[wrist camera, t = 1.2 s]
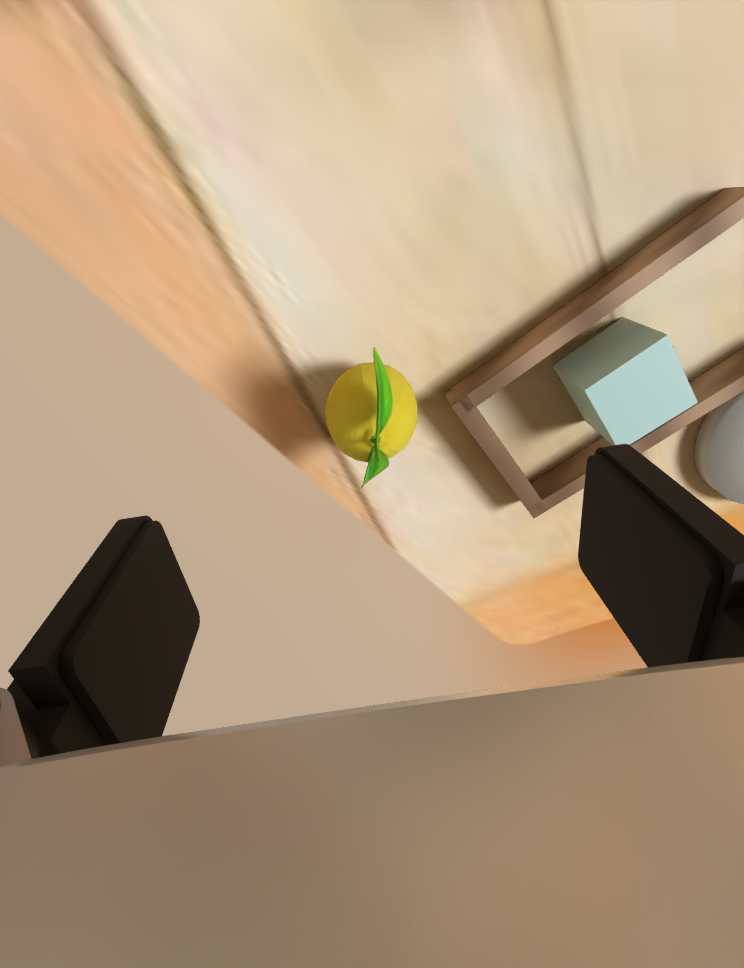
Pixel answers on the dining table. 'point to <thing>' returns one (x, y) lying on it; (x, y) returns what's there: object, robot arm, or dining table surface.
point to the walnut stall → (575, 318)
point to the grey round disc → (723, 449)
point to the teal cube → (626, 381)
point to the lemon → (371, 414)
